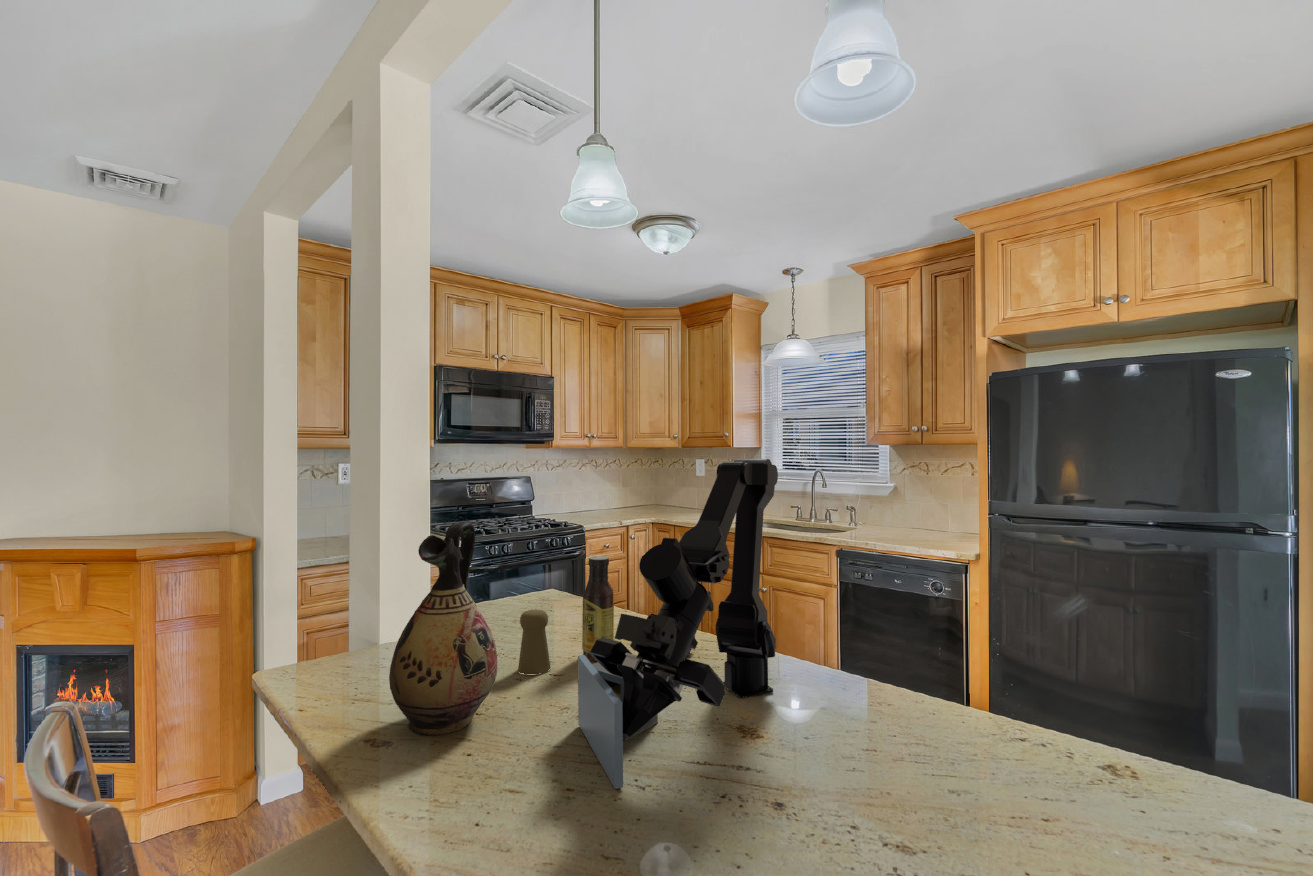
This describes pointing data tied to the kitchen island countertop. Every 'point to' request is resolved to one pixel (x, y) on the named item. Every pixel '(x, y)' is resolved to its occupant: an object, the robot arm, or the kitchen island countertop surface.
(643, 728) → the camera case
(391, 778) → the kitchen island countertop surface
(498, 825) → the kitchen island countertop surface
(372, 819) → the kitchen island countertop surface
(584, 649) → the sauce bottle
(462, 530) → the ceramic jug
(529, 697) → the kitchen island countertop surface
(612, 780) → the side door
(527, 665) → the cork
